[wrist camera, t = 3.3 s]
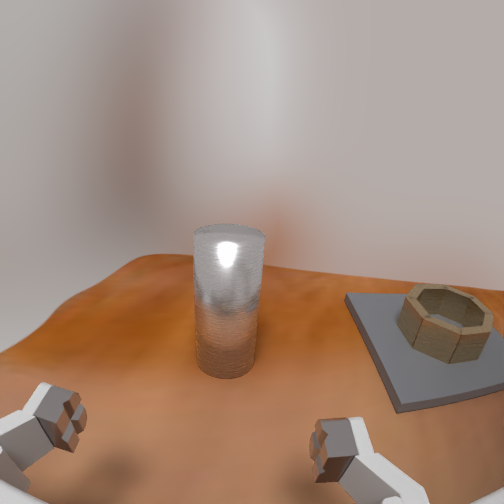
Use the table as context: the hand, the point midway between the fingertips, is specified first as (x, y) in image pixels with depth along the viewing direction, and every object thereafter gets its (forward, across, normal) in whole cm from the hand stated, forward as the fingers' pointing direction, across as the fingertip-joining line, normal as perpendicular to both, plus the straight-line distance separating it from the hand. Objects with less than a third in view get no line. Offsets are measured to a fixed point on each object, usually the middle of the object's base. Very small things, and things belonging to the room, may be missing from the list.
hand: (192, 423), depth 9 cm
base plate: (+14, -20, +7) cm, 26 cm away
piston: (+12, 0, +8) cm, 14 cm away
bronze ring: (+14, -20, +6) cm, 26 cm away
